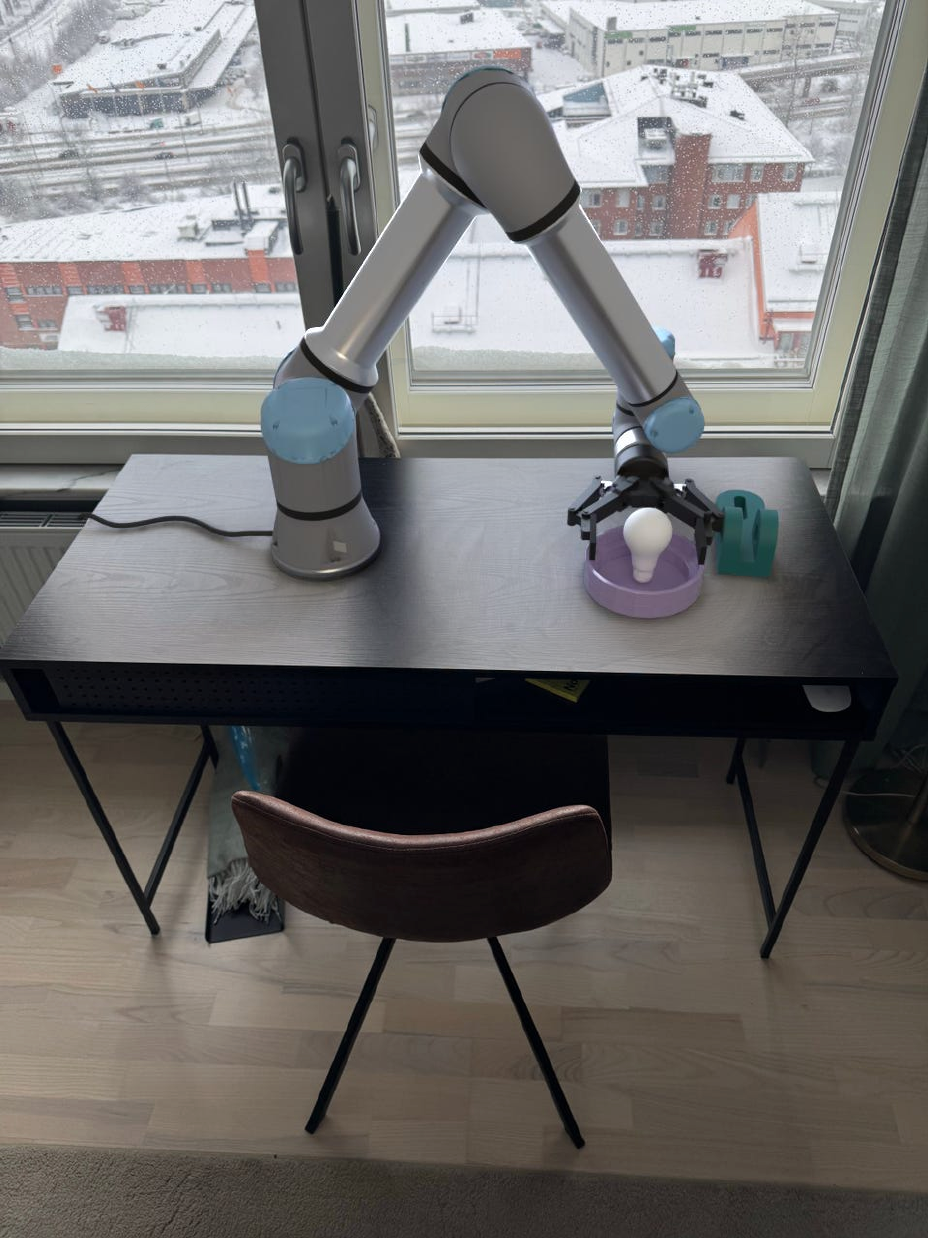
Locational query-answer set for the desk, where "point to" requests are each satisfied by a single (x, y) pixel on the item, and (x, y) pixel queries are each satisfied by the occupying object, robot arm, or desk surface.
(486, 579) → the desk surface
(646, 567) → the lightbulb
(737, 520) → the bracket
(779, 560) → the desk surface
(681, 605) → the bowl
